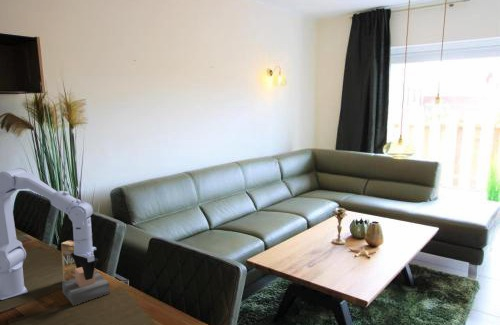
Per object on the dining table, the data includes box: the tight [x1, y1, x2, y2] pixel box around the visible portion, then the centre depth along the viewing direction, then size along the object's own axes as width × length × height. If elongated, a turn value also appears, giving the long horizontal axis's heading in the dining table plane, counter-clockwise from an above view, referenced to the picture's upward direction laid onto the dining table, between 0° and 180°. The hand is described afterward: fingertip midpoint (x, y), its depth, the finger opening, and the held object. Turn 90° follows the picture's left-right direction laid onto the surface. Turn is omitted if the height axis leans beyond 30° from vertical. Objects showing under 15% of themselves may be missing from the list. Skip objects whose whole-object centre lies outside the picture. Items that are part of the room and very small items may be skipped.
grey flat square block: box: [61, 271, 111, 307], centre depth 126 cm, size 12×12×4 cm
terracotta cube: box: [75, 267, 96, 287], centre depth 125 cm, size 5×5×5 cm
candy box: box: [60, 239, 76, 282], centre depth 133 cm, size 9×4×15 cm, turn 66°
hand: (85, 275), depth 126 cm, fingers open, 7 cm apart
